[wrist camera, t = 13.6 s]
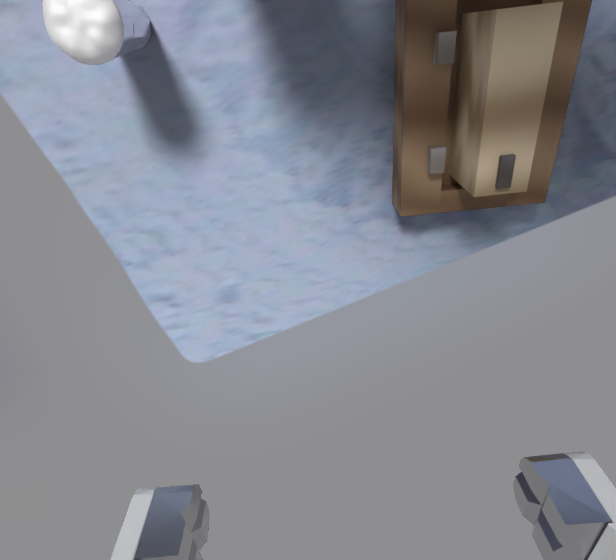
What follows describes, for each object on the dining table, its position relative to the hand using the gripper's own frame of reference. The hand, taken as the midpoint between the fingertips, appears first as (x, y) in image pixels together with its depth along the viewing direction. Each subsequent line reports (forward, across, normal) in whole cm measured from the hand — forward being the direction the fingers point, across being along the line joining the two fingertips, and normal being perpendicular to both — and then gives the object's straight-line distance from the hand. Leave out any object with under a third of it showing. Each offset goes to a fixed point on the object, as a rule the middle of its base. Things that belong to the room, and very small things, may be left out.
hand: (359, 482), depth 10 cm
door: (+29, -14, -4) cm, 33 cm away
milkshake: (+31, +13, -12) cm, 36 cm away
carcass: (+31, -14, -4) cm, 34 cm away
